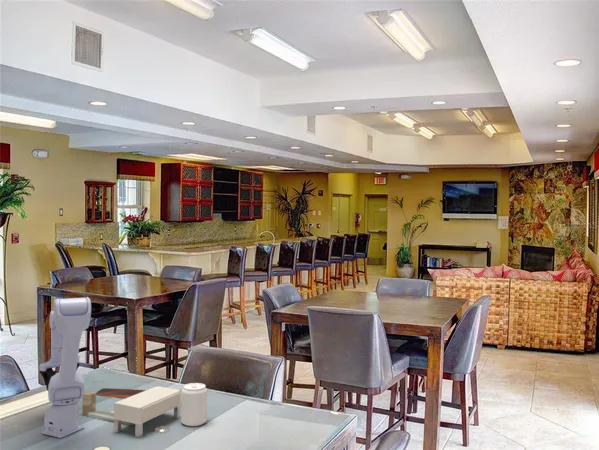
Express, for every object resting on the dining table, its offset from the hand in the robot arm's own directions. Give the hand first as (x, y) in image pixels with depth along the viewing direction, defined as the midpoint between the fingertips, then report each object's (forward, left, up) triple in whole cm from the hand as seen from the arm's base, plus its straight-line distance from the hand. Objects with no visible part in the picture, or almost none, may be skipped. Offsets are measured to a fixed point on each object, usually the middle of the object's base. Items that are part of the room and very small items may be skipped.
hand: (59, 387), depth 184 cm
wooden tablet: (+29, -4, -10) cm, 31 cm away
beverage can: (+16, -43, -10) cm, 47 cm away
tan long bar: (+6, -16, -10) cm, 20 cm away
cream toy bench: (+8, -31, -9) cm, 33 cm away
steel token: (+6, -38, -10) cm, 40 cm away
